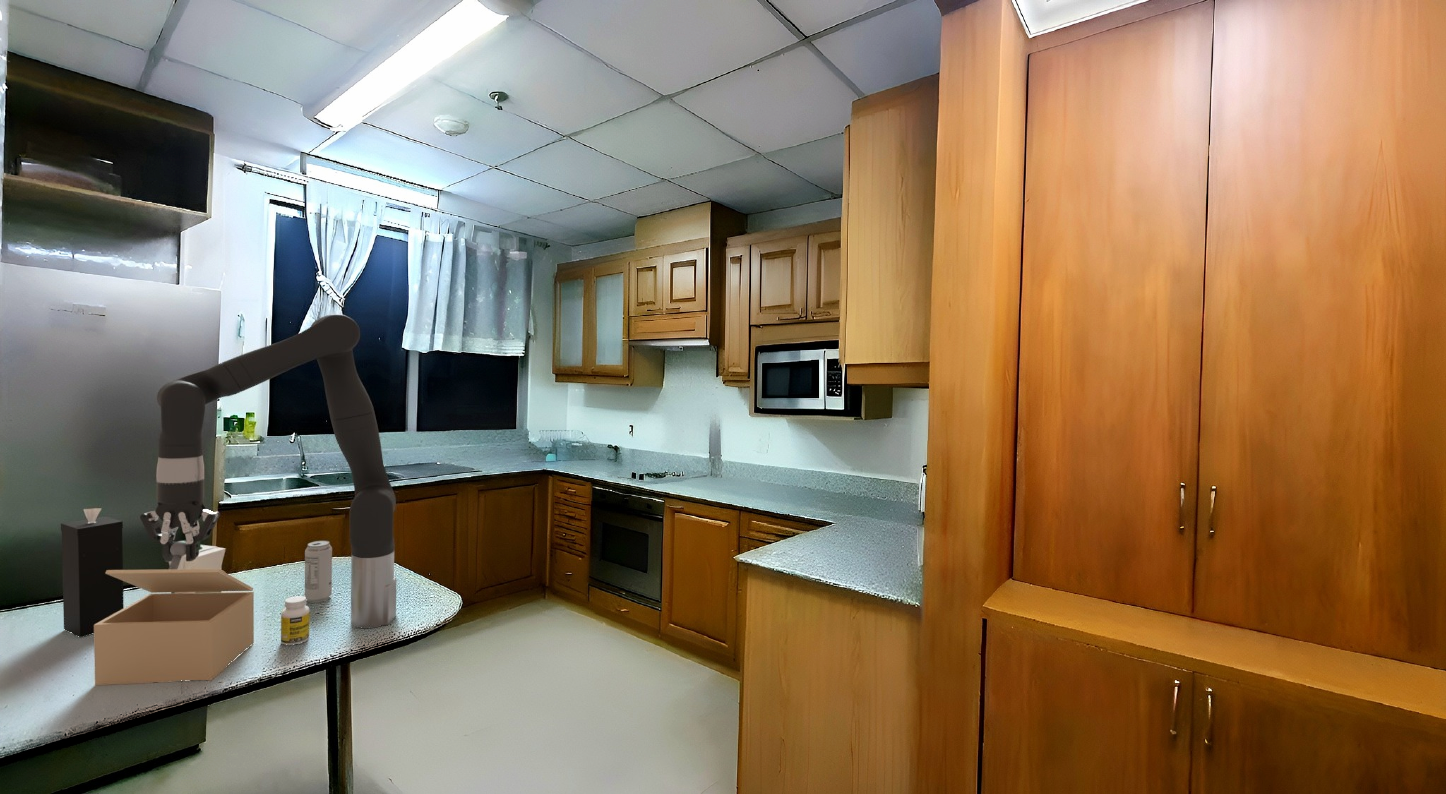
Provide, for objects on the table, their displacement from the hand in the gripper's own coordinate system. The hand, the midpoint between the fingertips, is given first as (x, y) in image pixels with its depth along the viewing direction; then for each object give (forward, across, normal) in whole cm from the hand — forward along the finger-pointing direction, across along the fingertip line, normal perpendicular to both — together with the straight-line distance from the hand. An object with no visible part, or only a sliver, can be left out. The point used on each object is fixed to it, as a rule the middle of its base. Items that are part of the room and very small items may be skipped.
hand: (180, 560), depth 134 cm
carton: (+22, 0, 0) cm, 22 cm away
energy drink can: (+21, -13, -34) cm, 42 cm away
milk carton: (+22, +7, -19) cm, 30 cm away
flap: (+5, 0, -1) cm, 5 cm away
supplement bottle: (+22, -18, -9) cm, 30 cm away
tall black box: (+22, +28, -19) cm, 40 cm away
